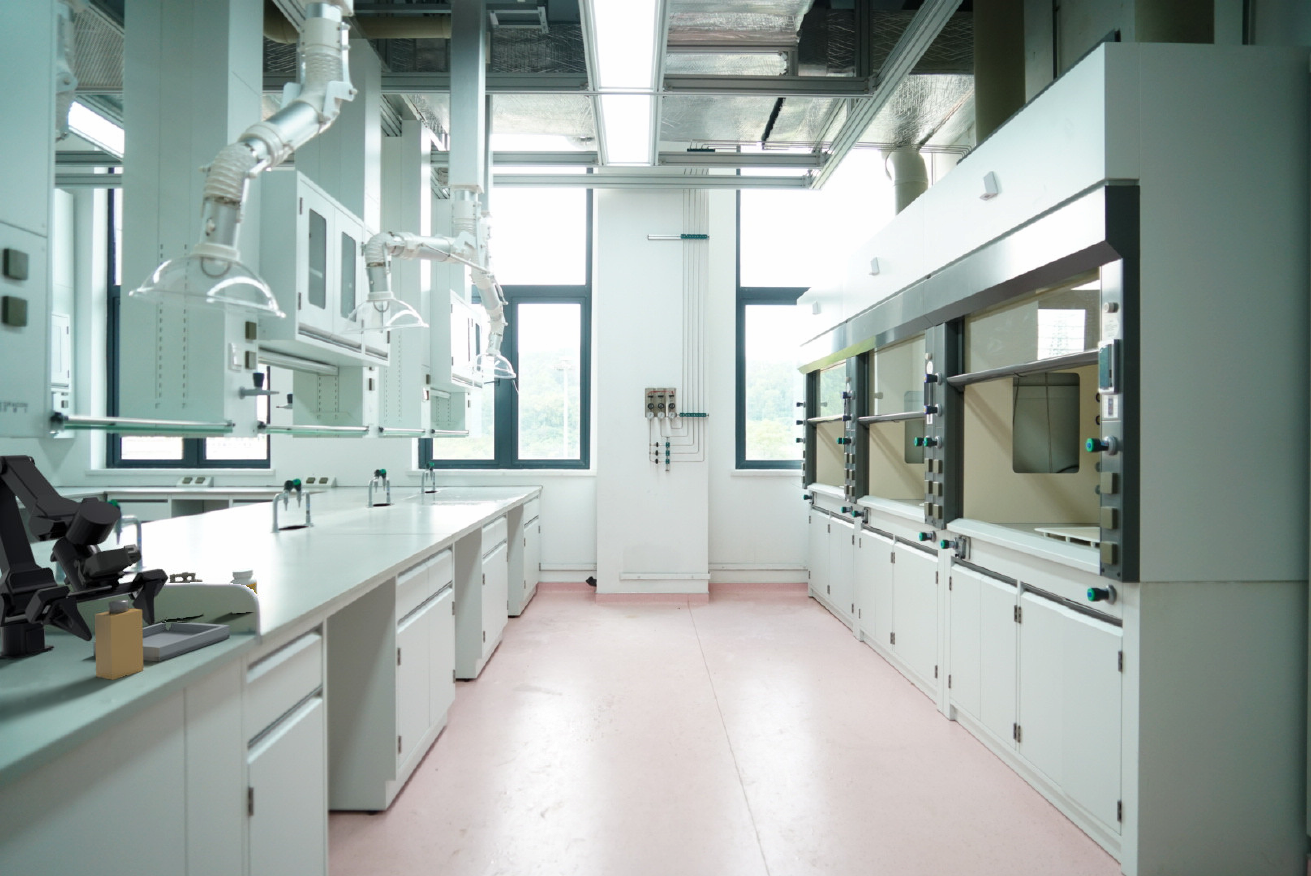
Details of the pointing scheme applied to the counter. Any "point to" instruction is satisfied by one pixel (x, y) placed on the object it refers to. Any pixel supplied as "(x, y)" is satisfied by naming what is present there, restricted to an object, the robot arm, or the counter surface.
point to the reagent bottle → (119, 641)
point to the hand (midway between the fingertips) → (122, 631)
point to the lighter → (184, 578)
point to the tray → (178, 639)
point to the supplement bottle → (245, 578)
